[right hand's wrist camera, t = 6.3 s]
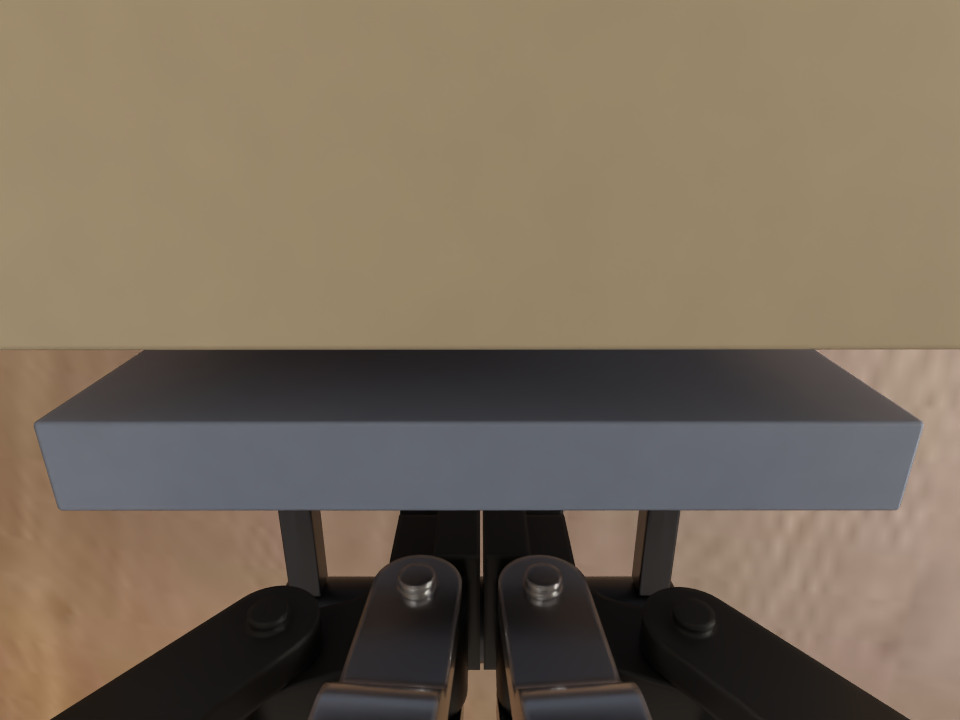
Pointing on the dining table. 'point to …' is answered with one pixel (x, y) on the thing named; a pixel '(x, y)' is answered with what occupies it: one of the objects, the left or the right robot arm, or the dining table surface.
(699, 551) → the dining table surface
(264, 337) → the cabinet
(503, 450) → the drawer
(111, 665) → the dining table surface
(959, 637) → the dining table surface
